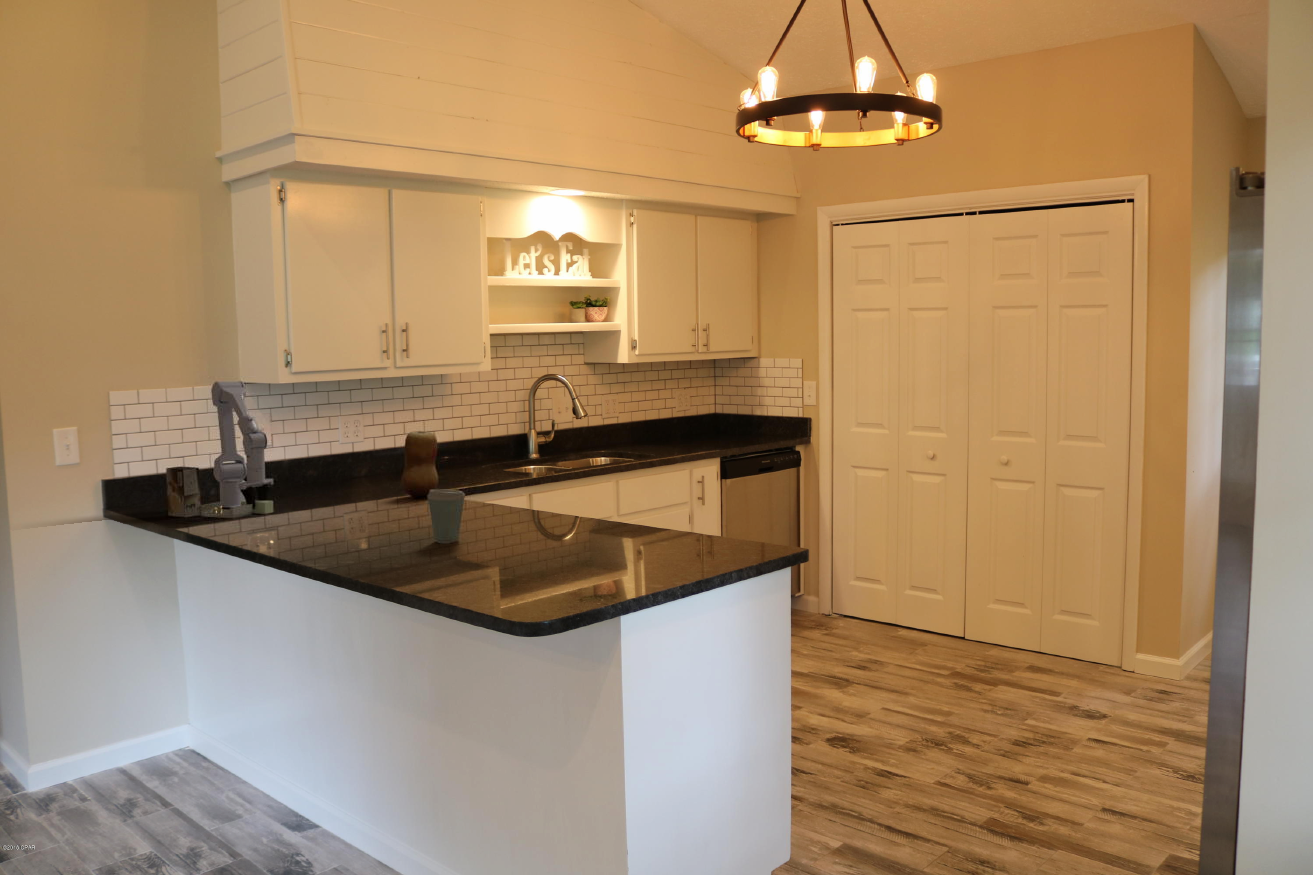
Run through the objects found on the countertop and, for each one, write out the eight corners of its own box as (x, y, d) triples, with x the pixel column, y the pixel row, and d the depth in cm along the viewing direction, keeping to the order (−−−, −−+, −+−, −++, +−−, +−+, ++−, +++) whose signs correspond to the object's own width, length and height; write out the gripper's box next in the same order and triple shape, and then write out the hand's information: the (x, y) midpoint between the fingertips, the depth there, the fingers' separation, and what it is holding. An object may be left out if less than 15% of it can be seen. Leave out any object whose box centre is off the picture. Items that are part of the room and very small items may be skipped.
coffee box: (202, 515, 337) (200, 467, 335) (185, 517, 331) (183, 469, 330) (183, 513, 341) (182, 465, 340) (166, 515, 335) (165, 467, 334)
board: (241, 512, 343) (240, 501, 342) (249, 511, 346) (249, 499, 346) (265, 514, 339) (264, 502, 339) (273, 512, 343) (273, 501, 343)
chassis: (199, 516, 334) (198, 505, 334) (219, 512, 343) (218, 501, 342) (233, 518, 330) (232, 507, 329) (252, 514, 338) (252, 503, 338)
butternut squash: (433, 500, 371) (432, 432, 369) (397, 500, 371) (396, 432, 369) (442, 494, 385) (441, 429, 383) (407, 494, 385) (406, 429, 383)
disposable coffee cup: (449, 536, 296) (449, 486, 294) (474, 541, 289) (473, 489, 288) (420, 542, 287) (419, 489, 286) (444, 546, 281) (443, 493, 279)
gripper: (250, 470, 334) (251, 511, 335) (280, 466, 347) (281, 505, 348) (233, 470, 336) (234, 510, 337) (263, 465, 350) (264, 504, 351)
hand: (257, 507), depth 343 cm, fingers open, 5 cm apart
